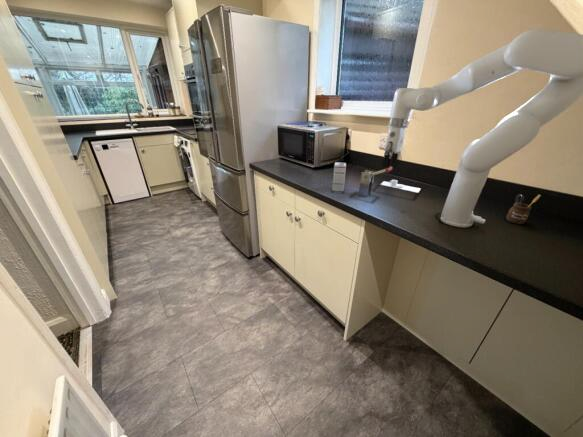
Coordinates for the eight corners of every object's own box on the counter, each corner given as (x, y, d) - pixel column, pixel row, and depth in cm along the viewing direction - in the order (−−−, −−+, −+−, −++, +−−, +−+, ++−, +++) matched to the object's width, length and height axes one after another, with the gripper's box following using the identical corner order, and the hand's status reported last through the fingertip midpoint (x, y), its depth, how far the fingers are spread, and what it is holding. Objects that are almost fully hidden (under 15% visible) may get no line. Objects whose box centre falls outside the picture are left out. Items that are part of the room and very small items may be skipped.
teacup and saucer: (404, 187, 127) (405, 180, 125) (400, 191, 121) (402, 184, 119) (387, 184, 132) (389, 177, 130) (383, 188, 126) (385, 181, 124)
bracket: (378, 197, 115) (383, 172, 109) (371, 203, 109) (376, 176, 103) (357, 192, 121) (361, 167, 115) (349, 197, 114) (353, 172, 108)
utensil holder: (503, 216, 98) (516, 189, 92) (522, 219, 96) (536, 192, 90) (507, 222, 93) (521, 194, 88) (527, 225, 91) (543, 197, 85)
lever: (393, 170, 104) (391, 165, 104) (389, 172, 100) (388, 167, 100) (367, 177, 112) (366, 172, 112) (363, 180, 109) (362, 175, 109)
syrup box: (343, 193, 118) (346, 165, 112) (331, 192, 119) (334, 164, 113) (343, 189, 123) (346, 162, 117) (332, 188, 124) (334, 161, 118)
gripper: (402, 125, 86) (391, 171, 94) (413, 122, 98) (403, 162, 106) (382, 124, 90) (373, 167, 98) (395, 120, 102) (386, 159, 110)
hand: (389, 164), depth 102 cm, fingers open, 9 cm apart
